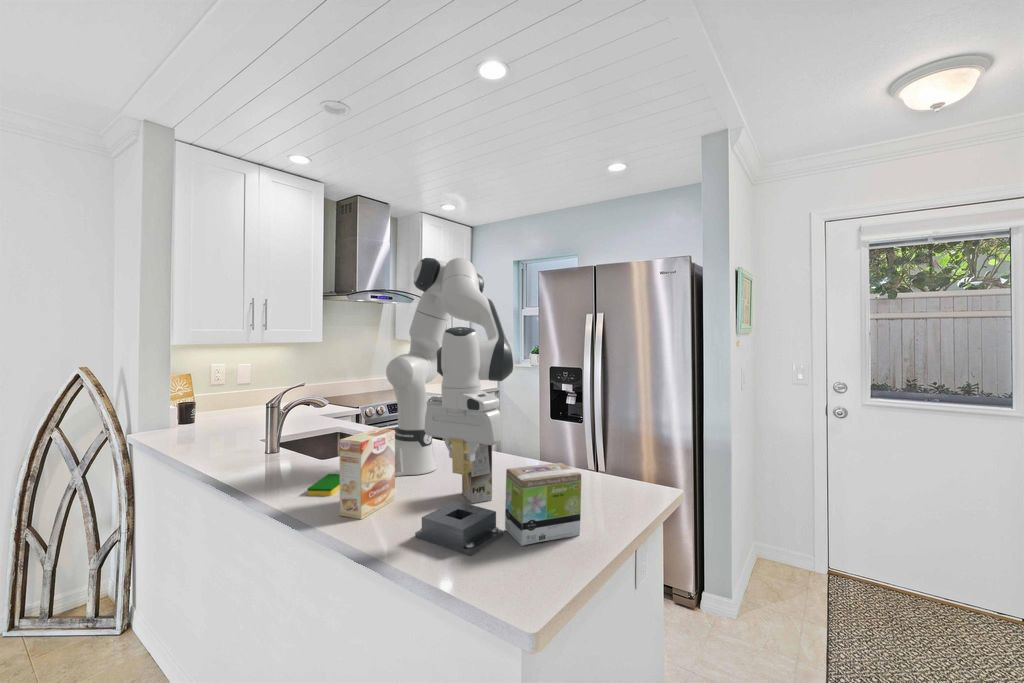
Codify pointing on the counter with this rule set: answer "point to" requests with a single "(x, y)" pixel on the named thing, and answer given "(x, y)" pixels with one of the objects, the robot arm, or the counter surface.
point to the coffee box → (479, 476)
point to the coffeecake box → (367, 472)
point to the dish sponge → (325, 486)
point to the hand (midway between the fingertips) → (462, 459)
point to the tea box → (542, 503)
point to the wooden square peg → (460, 456)
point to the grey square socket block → (460, 527)
